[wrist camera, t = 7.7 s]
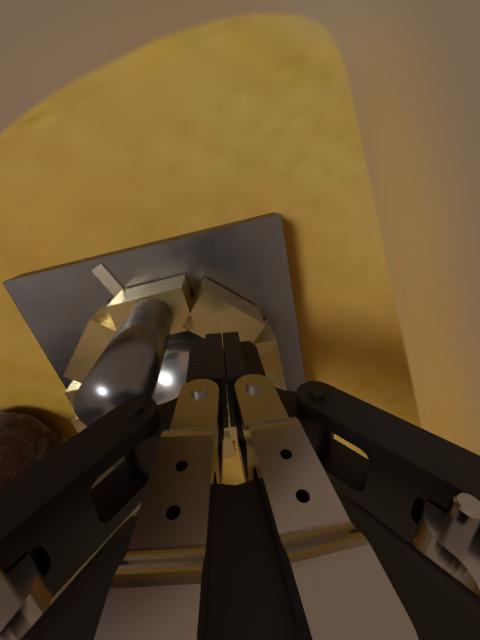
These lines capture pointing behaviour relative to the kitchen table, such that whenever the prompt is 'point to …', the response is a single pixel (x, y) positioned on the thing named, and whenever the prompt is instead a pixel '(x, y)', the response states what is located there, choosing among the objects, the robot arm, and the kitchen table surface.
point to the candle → (22, 443)
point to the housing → (158, 264)
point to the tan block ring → (157, 344)
